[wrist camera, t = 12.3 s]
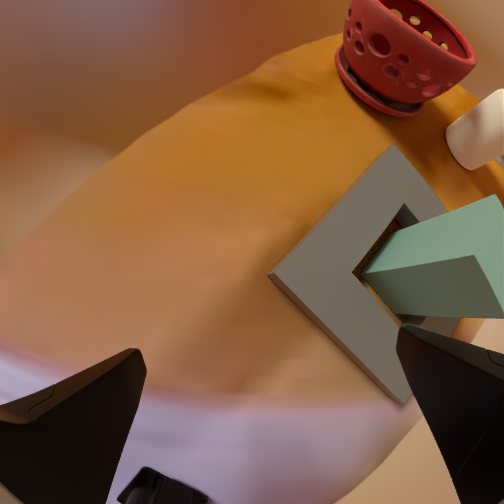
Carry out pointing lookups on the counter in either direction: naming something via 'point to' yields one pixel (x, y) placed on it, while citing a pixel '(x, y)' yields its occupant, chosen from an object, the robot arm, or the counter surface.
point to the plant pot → (400, 55)
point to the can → (478, 133)
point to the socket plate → (348, 257)
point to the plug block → (445, 264)
